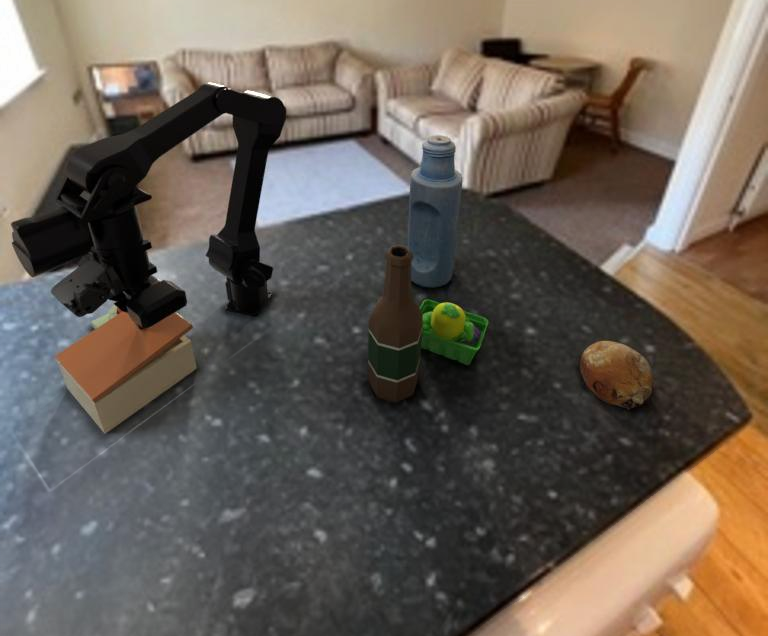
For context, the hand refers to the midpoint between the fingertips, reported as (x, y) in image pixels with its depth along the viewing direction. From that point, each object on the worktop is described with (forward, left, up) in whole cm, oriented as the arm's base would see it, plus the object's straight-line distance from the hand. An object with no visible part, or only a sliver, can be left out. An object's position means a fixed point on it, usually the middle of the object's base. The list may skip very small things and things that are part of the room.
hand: (142, 327), depth 66 cm
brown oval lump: (-70, -16, -8) cm, 72 cm away
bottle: (-38, -35, -8) cm, 52 cm away
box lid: (+1, +2, -1) cm, 3 cm away
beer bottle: (-37, -7, -8) cm, 39 cm away
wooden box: (+1, +3, -8) cm, 9 cm away
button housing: (+10, -7, -8) cm, 15 cm away
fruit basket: (-44, -16, -8) cm, 48 cm away
